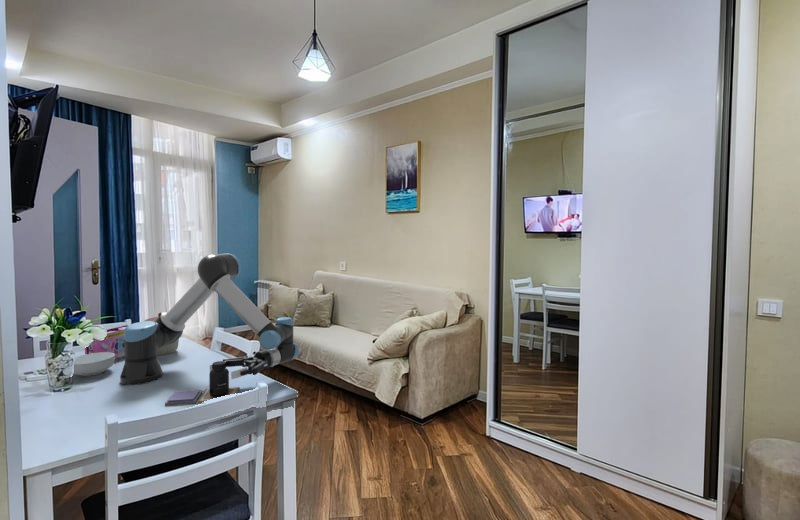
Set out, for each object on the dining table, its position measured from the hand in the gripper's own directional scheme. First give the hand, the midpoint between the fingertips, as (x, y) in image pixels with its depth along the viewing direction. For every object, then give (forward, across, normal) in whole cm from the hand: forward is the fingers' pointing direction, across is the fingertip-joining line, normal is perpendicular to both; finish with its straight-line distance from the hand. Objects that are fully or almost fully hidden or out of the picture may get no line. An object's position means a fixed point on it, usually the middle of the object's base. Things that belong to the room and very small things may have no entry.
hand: (220, 372), depth 156 cm
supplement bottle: (0, 0, -9) cm, 9 cm away
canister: (-17, +77, -9) cm, 79 cm away
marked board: (0, 0, -9) cm, 9 cm away
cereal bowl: (+16, +70, -9) cm, 72 cm away
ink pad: (+10, +8, -9) cm, 16 cm away
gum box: (+1, +89, -9) cm, 90 cm away
